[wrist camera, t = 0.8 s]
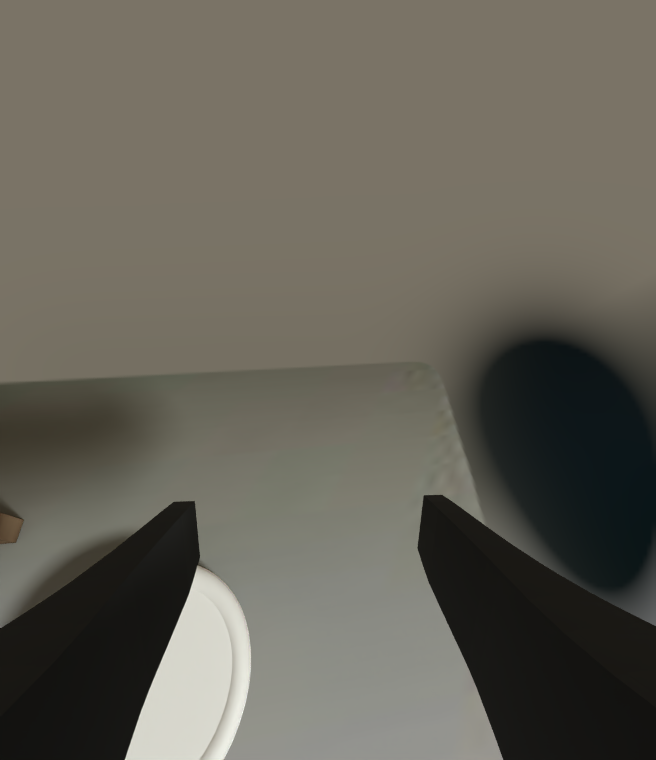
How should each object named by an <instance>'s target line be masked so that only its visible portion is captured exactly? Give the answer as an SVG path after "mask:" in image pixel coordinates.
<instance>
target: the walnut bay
mask: <svg viewBox="0 0 656 760" xmlns="http://www.w3.org/2000/svg"><path fill="white" fill-rule="evenodd" d="M23 521H24V520H22V519H19V518H16V517H13V516H9V515H6V514H3V513H0V544H6V543H16V541H17V538H18V535H19V532H20V529H21V527H22V524H23Z"/></svg>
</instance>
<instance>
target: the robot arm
mask: <svg viewBox="0 0 656 760" xmlns="http://www.w3.org/2000/svg"><path fill="white" fill-rule="evenodd" d="M418 551H419V554H420V557H421V561H422V564H423V567H424V570H425V573H426V575H427V578H428V581H429V584H430V586H431V588H432V590H433V592H434V595H435V597H436V599H437V601H438V603H439V606H440V608H441V610H442V612H443V614H444V616H445V618H446V621H447V623H448V625H449V627H450V629H451V631H452V634H453V636H454V638H455V640H456V642H457V644H458V646H459V649H460V651H461V653H462V655H463V657H464V659H465V661H466V664H467V666H468V668H469V670H470V673H471V675H472V677H473V680H474V682H475V685H476V687H477V690H478V692H479V695H480V698H481V700H482V703H483V706H484V708H485V711H486V714H487V716H488V719H489V722H490V724H491V727H492V730H493V732H494V735H495V738H496V740H497V743H498V746H499V749H500V752H501V754H502V757H503V760H656V626H654V625H652V624H650V623H648V622H646V621H644V620H642V619H640V618H638V617H636V616H634V615H632V614H630V613H628V612H626V611H624V610H622V609H620V608H618V607H616V606H614V605H612V604H610V603H609V602H607V601H605V600H603V599H601V598H599V597H597V596H596V595H594V594H592V593H590V592H588V591H587V590H585V589H583V588H581V587H580V586H578V585H576V584H574V583H572V582H571V581H569V580H567V579H566V578H564V577H562V576H560V575H559V574H557V573H555V572H554V571H552V570H551V569H549V568H547V567H545V566H544V565H542V564H541V563H539V562H538V561H536V560H535V559H533V558H531V557H530V556H529V555H527V554H525V553H524V552H522V551H521V550H519V549H518V548H516V547H515V546H513V545H512V544H510V543H509V542H508V541H506V540H505V539H503V538H502V537H500V536H499V535H497V534H496V533H495V532H493V531H492V530H491V529H489V528H488V527H486V526H485V525H484V524H482V523H481V522H479V521H478V520H477V519H475V518H474V517H473V516H471V515H470V514H469V513H467V512H466V511H464V510H463V509H462V508H460V507H459V506H458V505H456V504H455V503H453V502H452V501H450V500H449V499H448V498H446V497H444V496H443V495H424V498H423V507H422V515H421V524H420V532H419V540H418ZM199 558H200V552H199V542H198V531H197V520H196V509H195V501H186V502H173V503H172V504H171V505H169V506H168V507H167V508H165V509H164V510H163V511H162V512H160V513H159V514H158V515H157V516H155V517H154V518H153V519H152V520H151V521H149V522H148V523H147V524H146V525H144V526H143V527H142V528H141V529H140V530H138V531H137V532H136V533H135V534H133V535H132V536H131V537H130V538H128V539H127V540H126V541H125V542H123V543H122V544H121V545H119V546H118V547H117V548H116V549H114V550H113V551H112V552H111V553H109V554H108V555H107V556H105V557H104V558H103V559H101V560H100V561H98V562H97V563H96V564H94V565H93V566H92V567H90V568H89V569H88V570H86V571H85V572H84V573H82V574H81V575H80V576H78V577H77V578H76V579H74V580H73V581H72V582H70V583H69V584H67V585H66V586H64V587H63V588H62V589H60V590H59V591H57V592H56V593H54V594H53V595H51V596H50V597H48V598H47V599H45V600H44V601H42V602H41V603H39V604H38V605H36V606H35V607H33V608H32V609H30V610H29V611H27V612H26V613H24V614H22V615H21V616H19V617H18V618H16V619H15V620H13V621H12V622H10V623H8V624H7V625H5V626H4V627H2V628H0V760H125V758H126V755H127V752H128V749H129V746H130V743H131V740H132V737H133V734H134V731H135V728H136V725H137V722H138V719H139V716H140V713H141V710H142V708H143V705H144V702H145V700H146V697H147V695H148V692H149V689H150V687H151V684H152V682H153V680H154V677H155V675H156V672H157V670H158V668H159V665H160V663H161V661H162V658H163V656H164V653H165V651H166V649H167V646H168V644H169V641H170V639H171V637H172V634H173V632H174V629H175V627H176V625H177V622H178V620H179V617H180V615H181V612H182V610H183V608H184V605H185V603H186V600H187V598H188V595H189V593H190V589H191V586H192V583H193V580H194V576H195V573H196V569H197V566H198V562H199Z"/></svg>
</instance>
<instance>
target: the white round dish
mask: <svg viewBox="0 0 656 760" xmlns="http://www.w3.org/2000/svg"><path fill="white" fill-rule="evenodd" d="M250 671H251V647H250V638H249V632H248V627H247V623H246V619H245V616H244V614H243V611H242V609H241V606H240V604H239V602H238V601H237V599H236V597H235V595H234V594H233V592H232V591H231V590H230V588H229V587H228V586H227V585H226V584H225V583H224V582H223V581H222V580H221V579H220V578H219V577H218V576H217V575H215V574H213V573H212V572H210V571H209V570H207V569H205V568H203V567H200V566H197V569H196V573H195V576H194V580H193V583H192V586H191V589H190V593H189V595H188V598H187V600H186V603H185V605H184V608H183V610H182V612H181V615H180V617H179V620H178V622H177V625H176V627H175V629H174V632H173V634H172V637H171V639H170V641H169V644H168V646H167V649H166V651H165V653H164V656H163V658H162V661H161V663H160V665H159V668H158V670H157V672H156V675H155V677H154V680H153V682H152V684H151V687H150V689H149V692H148V695H147V697H146V700H145V702H144V705H143V708H142V710H141V713H140V716H139V719H138V722H137V725H136V728H135V731H134V734H133V737H132V740H131V743H130V746H129V749H128V752H127V755H126V758H125V760H224V758H225V756H226V754H227V752H228V750H229V748H230V746H231V744H232V742H233V739H234V737H235V734H236V731H237V729H238V726H239V724H240V721H241V717H242V714H243V710H244V707H245V703H246V699H247V693H248V688H249V682H250Z"/></svg>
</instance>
